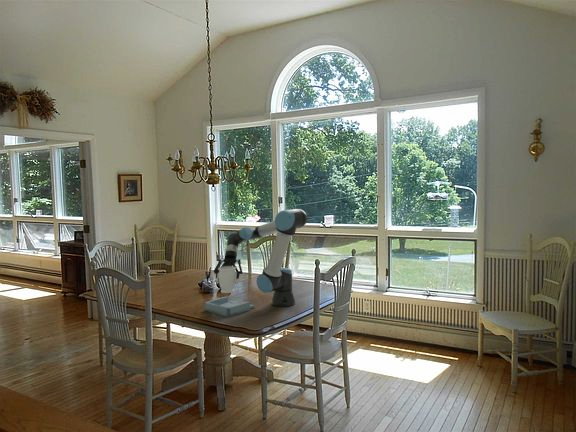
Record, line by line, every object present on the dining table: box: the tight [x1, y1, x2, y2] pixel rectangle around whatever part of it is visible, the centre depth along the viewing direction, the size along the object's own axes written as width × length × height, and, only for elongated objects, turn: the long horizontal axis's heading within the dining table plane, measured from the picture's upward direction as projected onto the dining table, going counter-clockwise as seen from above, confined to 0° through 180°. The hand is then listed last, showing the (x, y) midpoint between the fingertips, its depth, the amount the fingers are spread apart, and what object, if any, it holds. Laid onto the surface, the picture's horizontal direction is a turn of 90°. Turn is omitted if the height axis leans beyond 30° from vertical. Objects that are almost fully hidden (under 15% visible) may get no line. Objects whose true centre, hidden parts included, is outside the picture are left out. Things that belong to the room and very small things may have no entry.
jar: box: [218, 266, 237, 294], centre depth 269 cm, size 11×10×15 cm
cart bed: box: [203, 296, 255, 318], centre depth 271 cm, size 22×23×5 cm
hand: (226, 283), depth 266 cm, fingers closed on jar, 10 cm apart
